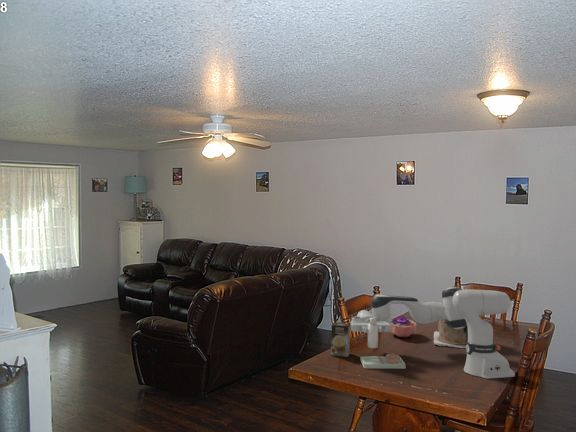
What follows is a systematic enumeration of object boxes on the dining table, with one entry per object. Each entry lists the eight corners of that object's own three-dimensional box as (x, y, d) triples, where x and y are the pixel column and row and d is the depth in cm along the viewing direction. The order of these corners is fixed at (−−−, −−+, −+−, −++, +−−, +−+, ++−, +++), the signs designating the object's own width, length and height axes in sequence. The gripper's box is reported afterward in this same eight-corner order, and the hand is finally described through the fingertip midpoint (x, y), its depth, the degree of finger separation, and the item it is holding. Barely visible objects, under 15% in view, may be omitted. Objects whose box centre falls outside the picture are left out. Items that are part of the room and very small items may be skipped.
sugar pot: (397, 362, 254) (397, 351, 254) (400, 366, 248) (400, 355, 247) (384, 362, 254) (384, 351, 254) (387, 366, 248) (387, 355, 247)
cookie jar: (433, 346, 283) (434, 289, 281) (433, 334, 306) (434, 282, 305) (480, 350, 276) (481, 291, 274) (477, 338, 299) (478, 284, 298)
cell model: (386, 339, 295) (386, 320, 294) (388, 330, 314) (388, 312, 314) (416, 341, 291) (416, 322, 290) (416, 332, 310) (416, 314, 310)
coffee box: (330, 355, 264) (330, 324, 263) (332, 351, 270) (333, 322, 270) (348, 357, 262) (348, 326, 261) (349, 353, 268) (350, 323, 267)
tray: (399, 360, 257) (399, 356, 257) (405, 368, 245) (405, 364, 245) (360, 360, 257) (360, 356, 256) (364, 368, 245) (364, 363, 244)
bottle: (376, 345, 253) (377, 317, 252) (378, 348, 248) (379, 319, 247) (366, 345, 253) (367, 317, 252) (368, 348, 248) (368, 319, 247)
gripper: (388, 329, 263) (394, 337, 249) (348, 329, 263) (352, 337, 249) (388, 317, 263) (394, 324, 249) (348, 317, 263) (352, 324, 249)
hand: (373, 330), depth 249 cm, fingers closed on bottle, 5 cm apart
